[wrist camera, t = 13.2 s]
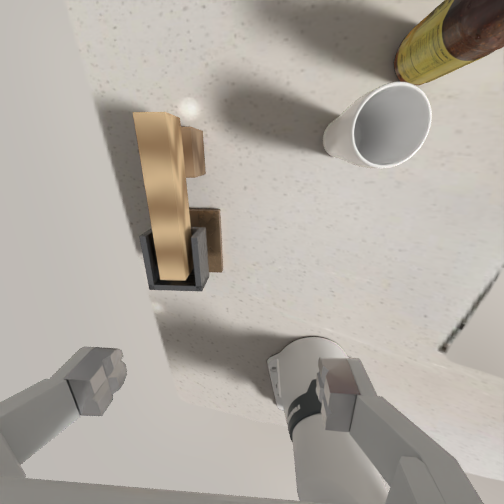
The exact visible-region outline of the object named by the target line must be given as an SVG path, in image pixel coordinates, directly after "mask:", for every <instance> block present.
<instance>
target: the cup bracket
mask: <svg viewBox="0 0 504 504" xmlns="http://www.w3.org/2000/svg"><path fill="white" fill-rule="evenodd" d="M189 214H190V224H191V234H192V237H191V242H192V252H193V262H194V268H193V270H192V271H191V273H190V274H189V276H188V277H187V279H186V280H160V274H159V268H158V262H157V256H156V250H155V244H154V238H153V232H152V229H150V230H148V231H147V232H145V233H144V234H142V235H141V236H139V237H140V242H141V247H142V253H143V258H144V263H145V268H146V274H147V279H148V284H149V290H177V291H202V290H203V288H204V286H205V284H206V282H207V280H208V278H209V272H222V271H223V256H222V237H221V217H220V209H189Z"/></svg>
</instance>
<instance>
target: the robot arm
mask: <svg viewBox="0 0 504 504" xmlns="http://www.w3.org/2000/svg"><path fill="white" fill-rule="evenodd" d="M122 357H123V353H122V351H121V350H120V349H113V348H99V347H83V348H81V349H79V350H78V351H77V352H76V353H75V354H74V355H73V356H72V357H71V358H70V359H69V360H68V361H67V362H66V363H65V364H64V365H63V366H62V367H61V368H60V369H59V370H58V371H57V372H56V373H55V374H54V375H53V376H52V377H51V378H50V379H44V380H42V381H40V382H38V383H36V384H35V385H33V386H31V387H29V388H27V389H25V390H23V391H21V392H20V393H17V394H15V395H14V396H12V397H10V398H8V399H6V400H4V401H2V402H0V504H484V503H483V502H482V500H481V498H480V497H479V495H478V494H477V492H476V490H475V489H474V487H473V486H472V484H471V482H470V481H469V479H468V478H467V476H466V474H465V473H464V471H463V470H462V468H461V467H460V465H459V463H458V462H457V460H456V459H455V458H454V457H453V456H452V455H451V454H449V453H448V452H447V451H446V450H445V449H443V448H442V447H441V446H440V445H439V444H437V443H436V442H435V441H434V440H433V439H432V438H430V437H429V436H428V435H427V434H426V433H424V432H423V431H422V430H421V429H420V428H419V427H417V426H416V425H415V424H414V423H413V422H411V421H410V420H409V419H408V418H407V417H406V416H404V415H403V414H402V413H401V412H400V411H398V410H397V409H396V408H395V407H394V406H393V405H391V404H390V403H389V402H388V401H387V400H385V399H384V398H383V397H380V396H377V394H376V392H375V389H374V387H373V385H372V383H371V381H370V379H369V377H368V375H367V372H366V370H365V368H364V366H363V364H362V362H361V360H360V359H359V358H350V357H348V356H347V355H346V353H345V352H344V350H343V349H342V348H341V347H340V346H339V345H338V344H336V343H335V342H333V341H331V340H328V339H325V338H319V337H308V338H302V339H299V340H296V341H294V342H292V343H290V344H289V345H287V346H286V347H285V348H284V349H283V350H282V351H281V352H280V353H279V354H276V355H274V356H272V357H270V358H269V359H268V360H267V364H268V369H269V373H270V378H271V382H272V387H273V391H274V395H275V400H276V404H277V407H278V409H280V410H282V411H284V413H285V417H286V421H287V424H288V430H289V434H290V438H291V440H292V442H293V449H294V461H295V472H296V483H297V493H298V497H299V500H300V501H294V500H282V499H269V498H258V497H246V496H233V495H222V494H210V493H197V492H186V491H174V490H162V489H150V488H138V487H125V486H113V485H101V484H89V483H77V482H65V481H52V480H41V479H28V478H25V477H26V476H25V473H24V471H23V469H22V468H21V466H20V465H21V464H22V463H23V462H25V461H26V460H27V459H28V458H29V457H31V456H32V455H33V454H34V453H35V452H37V451H38V450H39V449H41V448H42V447H43V446H44V445H46V444H47V443H48V442H49V441H51V440H52V439H53V438H54V437H56V436H57V435H58V434H59V433H60V432H62V431H63V430H64V429H66V428H67V427H68V426H69V425H71V424H72V423H73V422H74V421H75V420H77V419H78V418H79V417H80V415H84V416H102V415H103V413H104V412H105V411H106V409H107V408H108V406H109V404H110V403H111V402H112V400H113V394H114V393H115V392H116V391H118V390H119V389H120V388H121V386H122V385H123V383H124V381H125V378H126V372H127V371H126V365H125V363H124V362H122V361H121V359H122ZM380 474H381V475H382V477H383V478H384V479H385V481H386V482H387V483H388V485H389V486H390V491H389V492H388V490H387V488H386V486H385V484H384V481H383V480H382V477H381V475H380Z"/></svg>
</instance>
